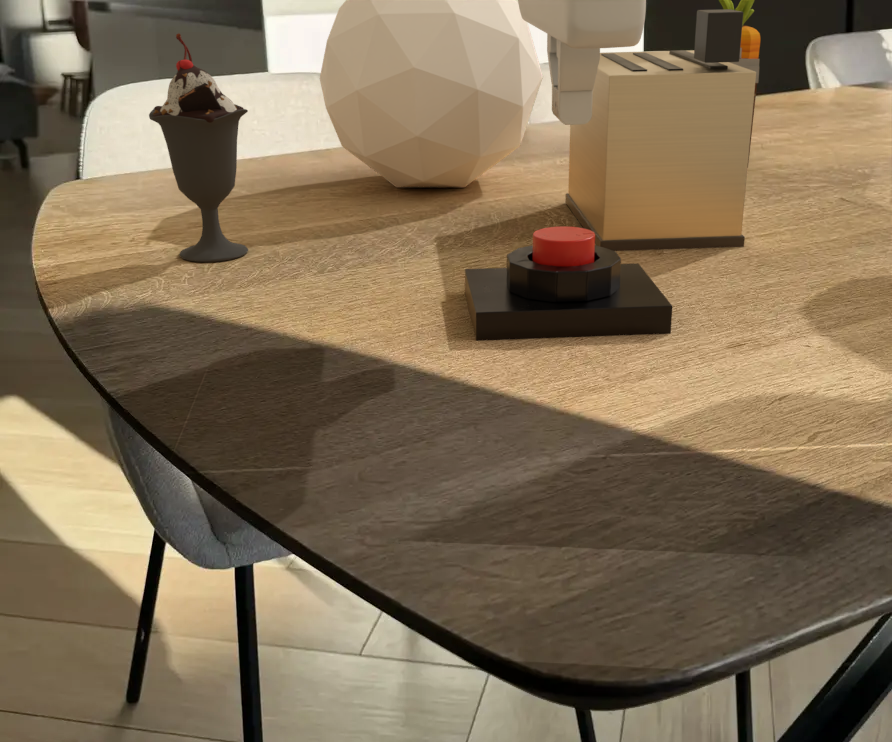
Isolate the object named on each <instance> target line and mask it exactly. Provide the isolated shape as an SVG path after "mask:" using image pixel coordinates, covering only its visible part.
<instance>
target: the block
mask: <svg viewBox="0 0 892 742" xmlns="http://www.w3.org/2000/svg"><path fill="white" fill-rule="evenodd" d="M532 259H533V244H532V245H527V246H522V247H518V248H516V249H514V250H512V251H511V252H509V253H507V254H506V267H489V268H486V267H485V268H484V267H483V268H465V269H464V296H465V301H466V304H467V308H468V313H469V316H470V321H471V325H472V329H473V334H474V337H475V341H476V342H480V341H509V340H536V339H537V340H539V339H563V338H564V339H565V338H593V337H617V336H618V337H621V336H622V337H623V336H645V335H647V336H648V335H650V336H651V335H670V334H671V331H672V320H673V319H672V318H673V305H672V303H671V302H670V300H668V299H667V297H666V296H665V295H664V294H663V292H662V291H661V290H660V288H659V286H657V284H655V282H654V281H653V279H652V278H651V277H650V276H649V275H648V273H647V272H646V271H645V269H644V268H643V267H642V266H641V264H640V263H637V262H635V263H622V258H621V257H620V255H619V254H618V253H617V251H613V250H610V249H606V248H603V247H600V246H597V245H595V252H594V263H590V264H585V265H580V266H552V265H543V264H538V263H535V262H533V261H532Z"/></svg>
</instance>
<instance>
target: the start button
mask: <svg viewBox="0 0 892 742" xmlns="http://www.w3.org/2000/svg"><path fill="white" fill-rule="evenodd" d="M532 245H533V259H532V261H533V262H535V263H538V264H543V265H552V266H580V265H585V264H590V263H594V252H595V233H594V232H593V231H591V230H588V229H584V228H583V227H577V226H549V227H544V228H540V229H537V230H534V232H533V233H532Z"/></svg>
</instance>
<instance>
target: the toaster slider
mask: <svg viewBox="0 0 892 742" xmlns="http://www.w3.org/2000/svg"><path fill="white" fill-rule="evenodd" d="M695 20H696V21H695V36H694V59H697V60H700V61H702V62H705V63H717V62H739V58H740V47H741V35H742V23H743V12H741V11H736V10H735V9H734V10H731V9H725V10H724V9H697V11H696V19H695Z"/></svg>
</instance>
